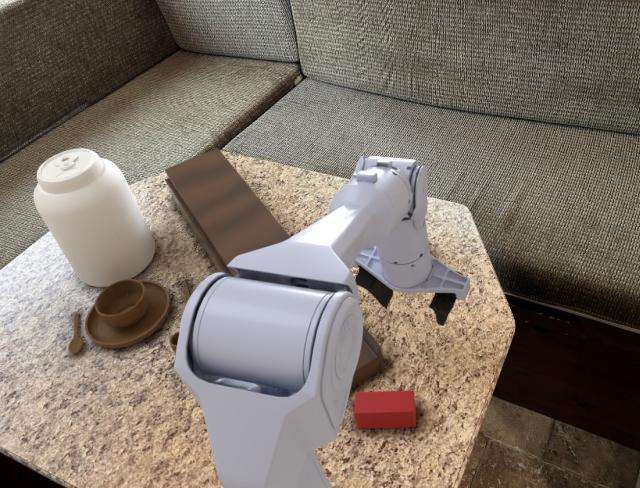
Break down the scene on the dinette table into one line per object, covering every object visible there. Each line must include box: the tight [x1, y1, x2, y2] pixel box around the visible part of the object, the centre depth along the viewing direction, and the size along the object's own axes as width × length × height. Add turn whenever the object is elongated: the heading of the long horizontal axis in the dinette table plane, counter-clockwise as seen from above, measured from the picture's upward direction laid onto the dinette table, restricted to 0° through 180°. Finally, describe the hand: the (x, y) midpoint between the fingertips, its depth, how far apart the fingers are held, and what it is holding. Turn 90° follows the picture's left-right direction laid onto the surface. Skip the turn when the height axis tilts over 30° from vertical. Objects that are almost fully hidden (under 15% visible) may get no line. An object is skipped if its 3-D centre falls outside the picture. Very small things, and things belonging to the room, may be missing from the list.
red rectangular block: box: [353, 390, 417, 430], centre depth 72 cm, size 7×3×4 cm, turn 89°
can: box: [32, 147, 156, 288], centre depth 93 cm, size 12×12×20 cm
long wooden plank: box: [164, 147, 385, 391], centre depth 93 cm, size 54×11×6 cm, turn 34°
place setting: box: [67, 278, 191, 355], centre depth 85 cm, size 18×20×6 cm
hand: (415, 309), depth 76 cm, fingers open, 7 cm apart
